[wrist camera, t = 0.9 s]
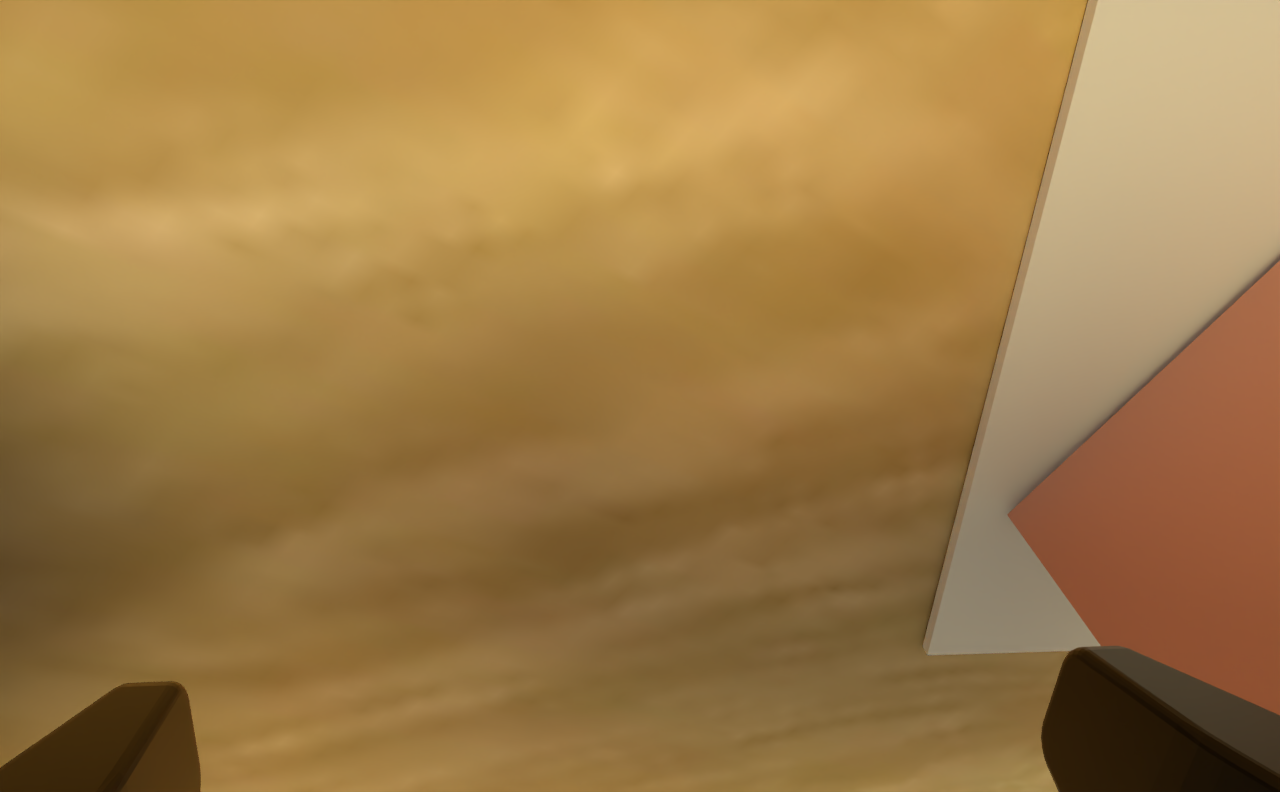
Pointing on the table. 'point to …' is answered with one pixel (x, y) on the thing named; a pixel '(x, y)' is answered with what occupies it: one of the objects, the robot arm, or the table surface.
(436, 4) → the table surface
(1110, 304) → the card
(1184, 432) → the fence panel
